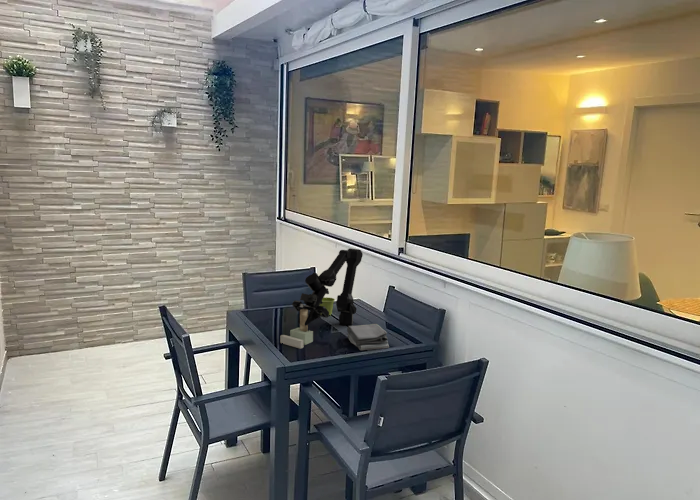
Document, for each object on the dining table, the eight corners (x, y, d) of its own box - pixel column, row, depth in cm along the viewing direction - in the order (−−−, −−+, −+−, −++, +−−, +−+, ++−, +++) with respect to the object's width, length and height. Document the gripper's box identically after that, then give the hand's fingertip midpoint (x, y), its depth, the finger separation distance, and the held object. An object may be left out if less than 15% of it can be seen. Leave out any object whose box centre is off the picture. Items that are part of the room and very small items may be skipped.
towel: (375, 336, 244) (376, 320, 242) (389, 349, 226) (390, 332, 225) (345, 338, 239) (346, 322, 238) (357, 352, 222) (358, 334, 221)
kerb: (283, 342, 231) (283, 334, 231) (303, 347, 224) (303, 340, 224) (280, 343, 230) (280, 335, 229) (300, 348, 223) (300, 341, 222)
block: (298, 337, 237) (298, 327, 236) (312, 341, 232) (313, 331, 231) (290, 340, 233) (290, 330, 232) (305, 344, 228) (305, 334, 227)
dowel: (308, 336, 235) (308, 309, 233) (306, 338, 231) (306, 311, 229) (301, 335, 235) (301, 308, 234) (298, 338, 232) (299, 310, 230)
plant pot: (315, 315, 275) (315, 300, 273) (320, 311, 283) (321, 296, 282) (331, 317, 272) (331, 302, 271) (336, 313, 281) (337, 298, 280)
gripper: (294, 283, 238) (278, 311, 231) (325, 289, 228) (310, 318, 221) (305, 296, 246) (289, 323, 239) (335, 303, 236) (320, 331, 228)
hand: (301, 324), depth 231 cm, fingers closed on dowel, 4 cm apart
